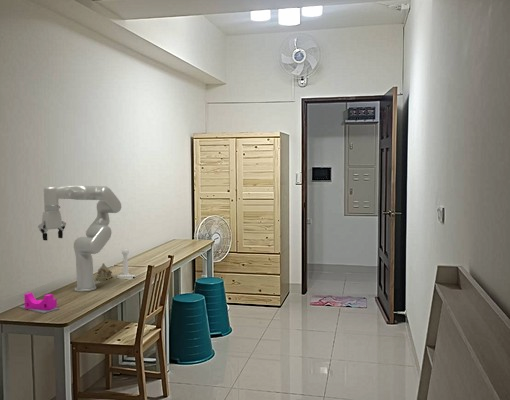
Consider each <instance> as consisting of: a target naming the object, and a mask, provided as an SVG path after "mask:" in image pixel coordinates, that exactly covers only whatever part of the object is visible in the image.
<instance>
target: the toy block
mask: <svg viewBox="0 0 510 400" xmlns="http://www.w3.org/2000/svg"><path fill="white" fill-rule="evenodd" d="M23 295H24V305H25V309H24V310H27V309H37V310H48V311H49V310H52V309H54V308H58V305H57V303H58V301H57V298H54V294H53V293H52V294H50V293H48V294H44V295H43V298H42V299H39V300H37V299H36V298H35V297H34V293H33V292H27V293H24V294H23Z"/></svg>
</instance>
